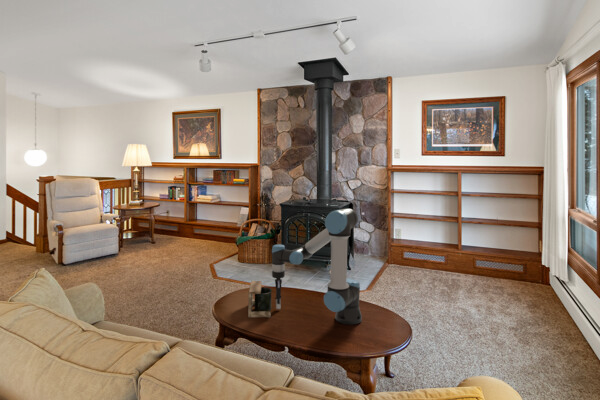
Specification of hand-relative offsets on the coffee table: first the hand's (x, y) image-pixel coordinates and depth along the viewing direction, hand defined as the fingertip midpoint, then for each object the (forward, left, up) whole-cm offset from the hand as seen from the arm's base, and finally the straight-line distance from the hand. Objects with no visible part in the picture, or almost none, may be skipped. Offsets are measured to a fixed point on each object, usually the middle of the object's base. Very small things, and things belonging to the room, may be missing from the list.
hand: (278, 308), depth 217 cm
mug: (+10, 0, -1) cm, 10 cm away
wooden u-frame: (+12, 0, -1) cm, 12 cm away
